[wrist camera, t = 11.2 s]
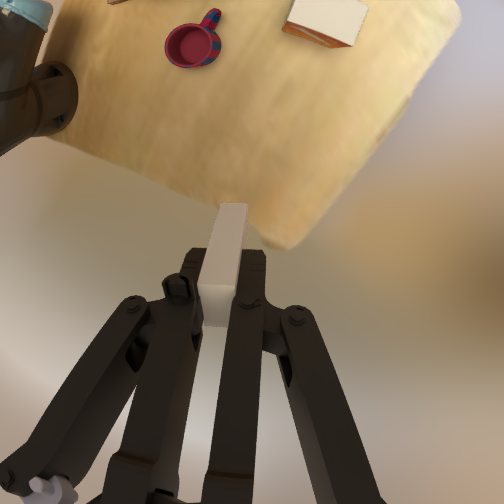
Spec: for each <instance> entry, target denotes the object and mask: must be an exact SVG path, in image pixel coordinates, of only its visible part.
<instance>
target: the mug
mask: <svg viewBox="0 0 504 504" xmlns="http://www.w3.org/2000/svg"><path fill="white" fill-rule="evenodd" d="M220 17H221V11H220V10H219V9H216V8H213V9H211V10H210V11H209V12H208V13H207V14H206V16H205V17H204V19H203V20H202V22H201V24H193V23H189V24H184V25H181V26H179V27H177V28H175V29H174V30H173V31H172V32H171V33H170V34H169V35H168V37H167V39H166V42H165V53H166V56H167V58H168V59H169V61H170V62H171V63H173V64H174V65H176V66H178V67H182V68H191V67H198V66H204V65H207V64H209V63H211V62H213V61H214V60H215V59H216V58H217V57H218V55H219V53H220V50H221V41H220V38H219V36H218V35H217V34H216V33H215V32H214V31H213V30H214V28H215V27H216V25H217V23H218V21H219V19H220ZM210 21H211V22H210Z"/></svg>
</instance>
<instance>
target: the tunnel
mask: <svg viewBox="0 0 504 504" xmlns="http://www.w3.org/2000/svg"><path fill="white" fill-rule="evenodd" d="M124 1H127V0H107V4H112V5H113V4H117V3H120V2H124Z"/></svg>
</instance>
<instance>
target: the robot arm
mask: <svg viewBox="0 0 504 504" xmlns="http://www.w3.org/2000/svg"><path fill="white" fill-rule="evenodd" d="M52 13H53V7H52V5H51V4H50V3H49V2H46V1H42V0H0V156H2V155H3V154H5V153H6V152H8V151H9V150H11V149H12V148H14V147H15V146H17V145H18V144H20V143H22V142H24V141H25V140H26V139H28V138H30V137H40V136H49V135H52V134H55V133H56V132H58V131H60V130H62V129H63V128H65V127H66V126H67V125H68V123H69V122H70V121H71V119H72V117H73V115H74V113H75V110H76V107H77V101H78V89H77V83H76V80H75V77H74V75H73V73H72V72H71V71H70V69H69V68H68V67H67V66H65V65H64V64H62V63H60V62H47V63H43V64H40V65H38V66H36V67H34V66H35V62H36V59H37V56H38V53H39V50H40V46H41V44H42V41H43V38H44V35H45V33H47V31H48V28H47V27H48V24H49V21H50V19H51V16H52ZM247 236H248V233H247V203H221V205H220V208H219V211H218V215H217V218H216V221H215V224H214V228H213V231H212V234H211V237H210V241H209V244H208V247H207V248H192V249H191V250H190V251H189V252H188V253H187V254H186V256H185V259H184V262H183V264H182V268H181V270H180V272H179V273H174V274H172V275H169V276H167V277H166V278H165V279H164V280H163V282H162V286H163V290H164V293H165V298H163V299H160V300H156V301H150V302H147V301H146V299H145V298H143V297H141V296H137V295H135V296H130V297H128V298H126V299H124V300H123V301H122V302H121V303H120V305H119V306H118V307H117V309H116V310H115V311H114V312H113V314H112V315H111V316H110V318H109V319H108V320H107V322H106V323H105V324H104V326H103V327H102V329H101V330H100V331H99V333H98V334H97V335H96V337H95V338H94V339H93V341H92V342H91V344H90V345H89V346H88V348H87V349H86V351H85V352H84V354H83V355H82V356H81V358H80V359H79V361H78V362H77V363H76V365H75V366H74V368H73V370H72V371H71V372H70V374H69V375H68V377H67V378H66V380H65V381H64V383H63V384H62V386H61V387H60V389H59V390H58V392H57V393H56V395H55V396H54V398H53V400H52V401H51V403H50V404H49V406H48V407H47V409H46V411H45V412H44V414H43V416H42V417H41V419H40V420H39V422H38V424H37V425H36V427H35V429H34V431H33V432H32V434H31V436H30V437H29V439H28V441H27V442H26V443H25V444H23V445H22V446H21V447H20V448H19V449H17V450H16V451H15V452H14V453H13V454H11V455H10V456H9V457H7V458H6V459H5V460H4V461H2V462H1V463H0V485H1V487H2V488H3V489H4V490H5V491H7V492H9V493H12V494H15V495H18V496H20V497H21V499H22V500H23V502H24V504H74V502H76V501H77V500H78V494H77V492H76V491H75V490H74V488H75V487H76V486H77V485H78V484H79V483H80V482H81V481H82V479H83V478H84V477H85V476H86V474H87V472H88V471H89V469H90V468H91V466H92V463H93V462H94V460H95V458H96V456H97V455H98V453H99V451H100V449H101V447H102V445H103V444H104V442H105V440H106V438H107V436H108V435H109V433H110V431H111V429H112V427H113V426H114V424H115V422H116V420H117V419H118V417H119V415H120V413H121V411H122V410H123V408H124V406H125V404H126V403H127V401H128V399H129V397H130V396H131V394H132V392H133V390H134V389H135V387H136V390H135V393H134V397H133V400H132V404H131V408H130V412H129V415H128V419H127V423H126V426H125V430H124V434H123V438H122V442H121V446H120V449H119V450H118V451H117V452H116V453H114V454H113V455H112V457H111V458H110V461H109V464H108V468H107V472H106V477H105V482H104V487H103V492H102V493H101V494H100V495H98V496H97V497H95V498H94V499H93V500H91V501H90V502H88V503H87V504H252V498H253V485H254V468H255V455H256V441H257V426H258V410H259V393H260V377H261V358H262V350H263V351H266V352H269V353H272V354H275V355H276V357H277V360H278V364H279V368H280V371H281V375H282V379H283V382H284V386H285V389H286V393H287V397H288V400H289V404H290V408H291V411H292V415H293V419H294V422H295V426H296V429H297V433H298V436H299V440H300V444H301V448H302V451H303V455H304V458H305V462H306V466H307V469H308V473H309V476H310V480H311V483H312V487H313V491H314V494H315V498H316V502H317V504H387V503H386V502H385V501H384V500H383V499H382V498H381V497H380V493H379V491H378V487H377V484H376V481H375V478H374V475H373V472H372V470H371V467H370V464H369V461H368V458H367V455H366V452H365V449H364V447H363V444H362V441H361V438H360V435H359V433H358V430H357V427H356V424H355V422H354V419H353V416H352V413H351V411H350V408H349V405H348V403H347V400H346V397H345V395H344V392H343V390H342V387H341V384H340V382H339V379H338V377H337V374H336V371H335V369H334V366H333V363H332V361H331V358H330V356H329V353H328V351H327V348H326V346H325V343H324V341H323V338H322V336H321V333H320V331H319V328H318V326H317V323H316V321H315V318H314V316H313V314H312V313H311V311H310V310H308V309H307V308H306V307H303V306H299V305H292V306H290V307H287V308H286V309H280V308H277V307H275V306H273V305H271V304H270V303H269V302H268V301H267V299H266V297H265V275H266V256H265V254H264V252H263V250H251V249H247V242H248V238H247ZM203 320H204V325H205V326H213V327H226V328H228V331H227V338H226V344H225V351H224V358H223V366H222V372H221V379H220V386H219V393H218V400H217V407H216V415H215V422H214V429H213V436H212V444H211V451H210V459H209V466H208V470H207V472H206V474H205V478H204V483H203V489H202V498H201V502H200V503H186V502H183V501H181V500H179V499H177V496H178V490H179V475H178V468H179V462H180V456H181V450H182V444H183V438H184V432H185V426H186V421H187V415H188V409H189V404H190V399H191V393H192V387H193V383H194V377H195V372H196V367H197V362H198V357H199V352H200V347H201V342H202V337H203V332H202V324H203ZM136 385H137V386H136Z"/></svg>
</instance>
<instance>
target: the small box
mask: <svg viewBox="0 0 504 504" xmlns="http://www.w3.org/2000/svg"><path fill="white" fill-rule="evenodd" d="M369 8H370V7H369V6H368V5H367V4H365V3H363V2H361V1H359V0H293V2H292V4H291V7H290V9H289V12H288V15H287V17H286V20H285V22H284V25H283V28H282V31H284V32H288V33H291V34H295V35H298V36H300V37H303V38H306V39H309V40H311V41H314V42H317V43H319V44H322V45H324V46H326V47H329V48H339V47H353V45H354V43H355V41H356V38H357V36H358V34H359V31H360V29H361V27H362V24H363V22H364V20H365V17H366V15H367V13H368V10H369Z"/></svg>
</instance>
